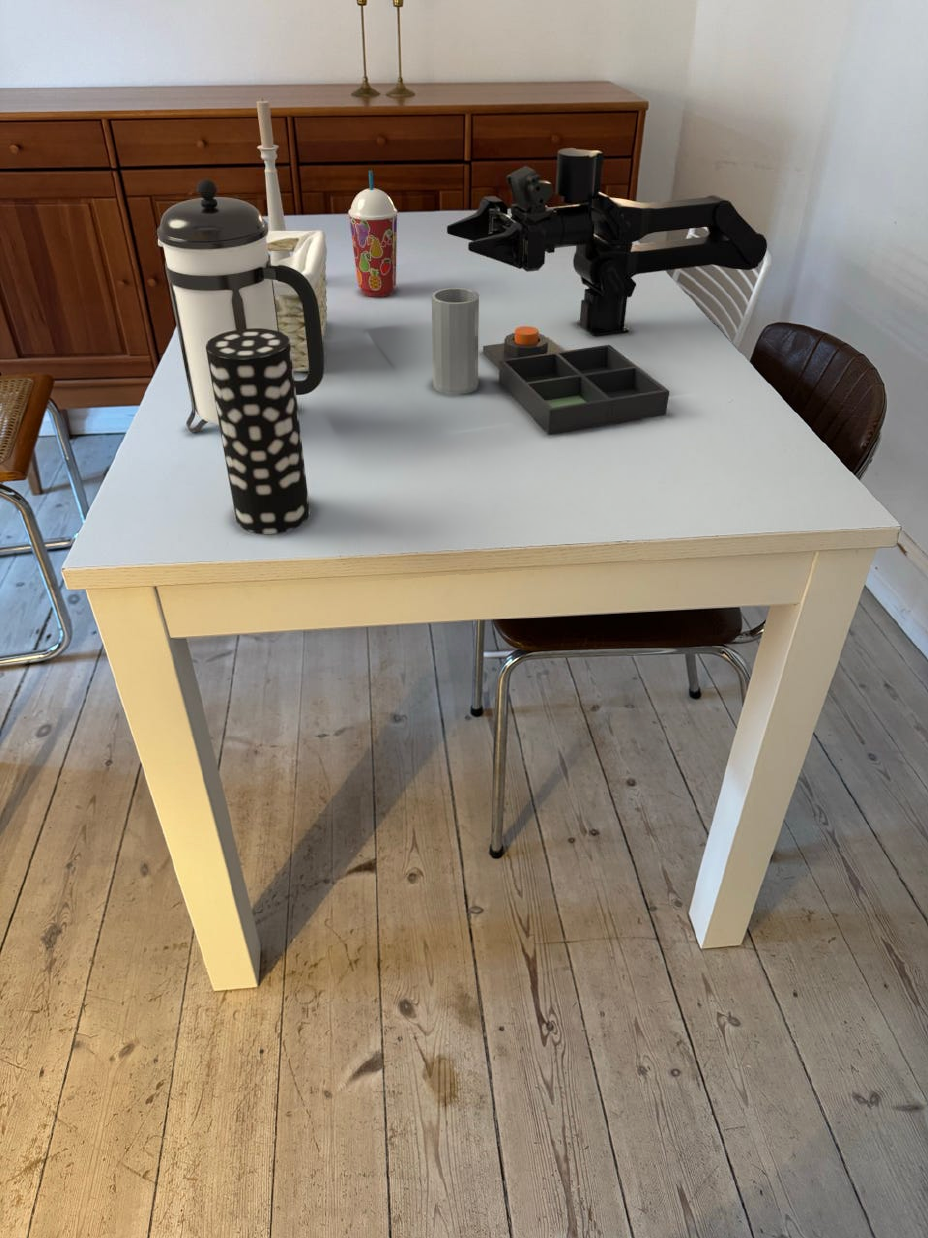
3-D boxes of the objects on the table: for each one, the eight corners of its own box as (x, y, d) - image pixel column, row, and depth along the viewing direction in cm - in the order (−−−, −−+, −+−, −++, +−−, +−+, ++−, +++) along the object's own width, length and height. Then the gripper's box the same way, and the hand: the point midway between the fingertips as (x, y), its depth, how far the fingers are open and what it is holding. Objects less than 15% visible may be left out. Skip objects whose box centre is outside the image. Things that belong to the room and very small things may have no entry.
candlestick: (241, 278, 170) (215, 94, 152) (308, 269, 174) (290, 90, 156) (257, 299, 161) (231, 106, 143) (327, 290, 165) (310, 101, 147)
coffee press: (199, 458, 114) (149, 202, 96) (177, 407, 126) (129, 170, 108) (332, 433, 120) (309, 187, 101) (299, 387, 131) (273, 158, 113)
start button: (532, 335, 140) (533, 324, 139) (541, 344, 138) (542, 332, 137) (510, 338, 139) (511, 327, 138) (519, 347, 137) (520, 335, 136)
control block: (547, 344, 145) (548, 326, 143) (569, 363, 139) (570, 344, 137) (482, 353, 142) (483, 334, 140) (501, 373, 136) (502, 353, 134)
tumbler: (468, 374, 135) (469, 285, 127) (484, 391, 131) (485, 300, 123) (427, 380, 134) (425, 290, 126) (442, 397, 129) (440, 305, 121)
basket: (239, 320, 153) (225, 227, 144) (336, 320, 153) (328, 227, 144) (211, 378, 134) (193, 276, 125) (322, 377, 134) (311, 275, 125)
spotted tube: (240, 497, 107) (211, 329, 95) (311, 494, 107) (292, 327, 95) (231, 535, 100) (199, 360, 88) (308, 532, 101) (286, 357, 89)
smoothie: (407, 287, 166) (403, 167, 154) (390, 301, 160) (383, 178, 148) (365, 282, 169) (358, 163, 156) (346, 296, 162) (337, 174, 150)
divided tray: (607, 367, 138) (609, 344, 135) (666, 414, 125) (669, 390, 122) (498, 383, 133) (499, 359, 131) (548, 434, 120) (549, 409, 118)
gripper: (532, 156, 139) (435, 164, 135) (586, 183, 126) (480, 193, 121) (529, 232, 146) (437, 242, 142) (580, 266, 132) (480, 278, 128)
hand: (457, 237), depth 133 cm, fingers open, 9 cm apart
